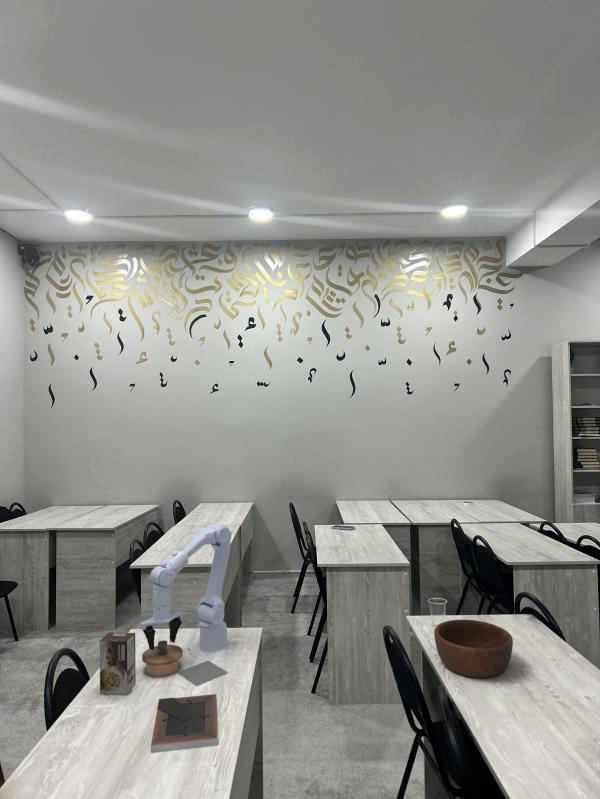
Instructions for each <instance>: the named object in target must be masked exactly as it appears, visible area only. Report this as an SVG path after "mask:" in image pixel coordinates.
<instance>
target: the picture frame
mask: <svg viewBox="0 0 600 799" xmlns="http://www.w3.org/2000/svg"><path fill="white" fill-rule="evenodd" d="M217 702H218V700H217V694H216V693H213V694H212V693H211V694H203V695H192V696H191V695H190V696H183V697H181V696H180V697H167V698H158V702H157V708H156V714H155V720H154V726H153V733H152V737H151V743H150V753H156V752H165V751H173V750H182V749H183V748H185V749H191V747H193V748H201V747H202V748H203V747H211V746H218V738H219V737H218V736H219V735H218V710H217V708H218V707H217V706H218V704H217Z"/></svg>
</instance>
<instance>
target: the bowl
mask: <svg viewBox="0 0 600 799" xmlns="http://www.w3.org/2000/svg"><path fill="white" fill-rule="evenodd" d="M178 661H179V660H178ZM178 661H176V662H173V663H171V664H167V665H159V666H155V665H148V664H146V663H145V670H146V671H145V673H147V674H149V675H150V676H155V677H160V676H161V677H162V676H168V675H170V674H172V673H174V672H176V671H177V670H178V666H179V665H178V664H179V662H178Z"/></svg>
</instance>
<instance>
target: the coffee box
mask: <svg viewBox="0 0 600 799" xmlns="http://www.w3.org/2000/svg"><path fill="white" fill-rule="evenodd" d="M98 643H99V694H100V695H121V696H122V695H124V696H125V695H126V696H128V695H129V694H130V693H131V692H132V689H133V688H134V687H135V686H136V684H137V683H136V681H137V679H136V675H137V674H136V671H137V670H136V668H137V667H136V666H137V665H136V633H135V632H107V633H106V634H105V636H103V637H102V638H101V639H100V640H99V641H98Z"/></svg>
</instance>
